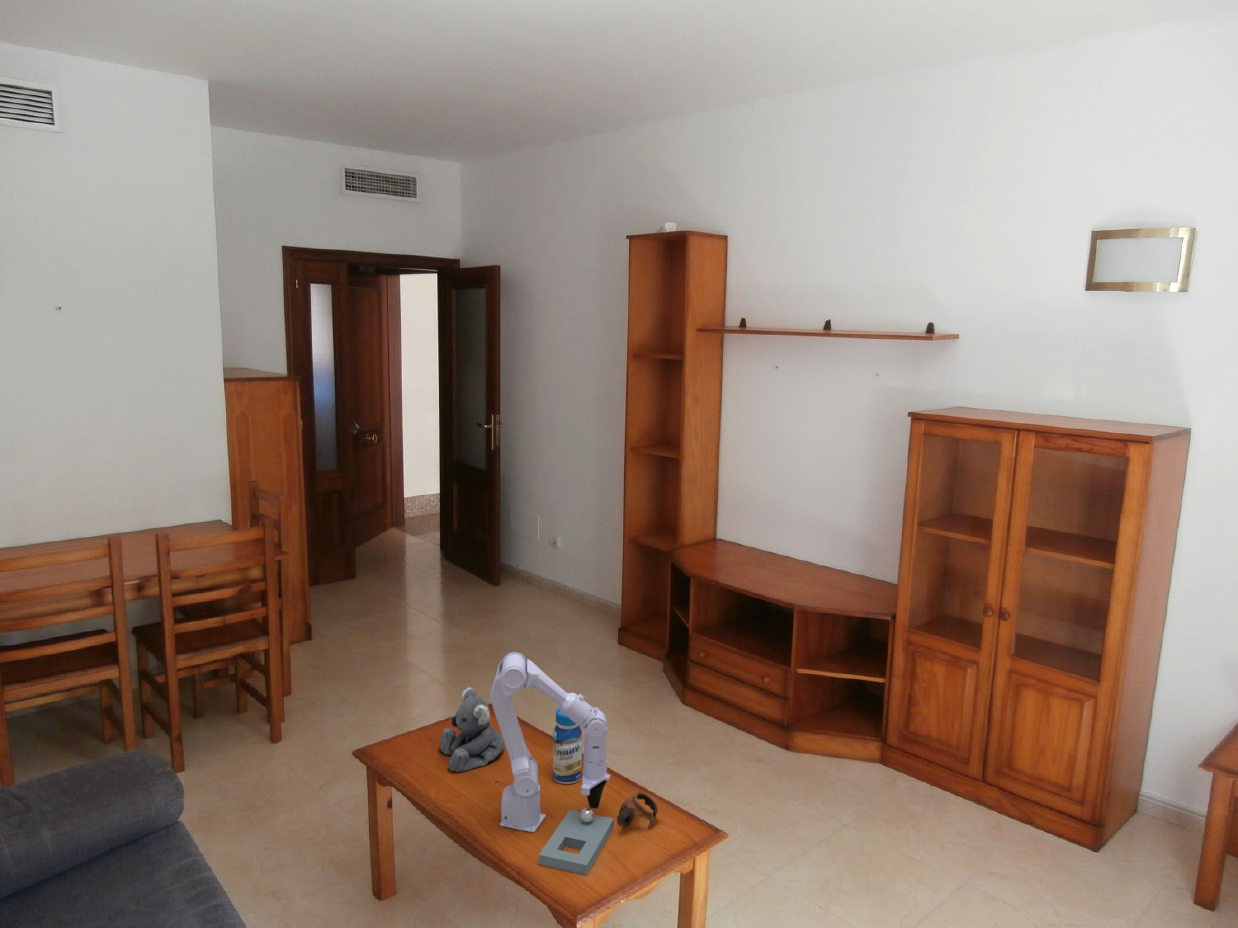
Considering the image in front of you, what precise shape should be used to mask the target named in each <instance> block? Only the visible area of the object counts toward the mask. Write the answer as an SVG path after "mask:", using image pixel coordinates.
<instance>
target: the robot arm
mask: <svg viewBox="0 0 1238 928" xmlns="http://www.w3.org/2000/svg"><path fill="white" fill-rule="evenodd" d="M491 686H492V687H491V689H490V692H489V693H490V695H489V700H490V703H491V705H492V706H491V707H492V708H493V712H494V715H495V717H496V721H497V724H498V727H499V730H500V733H501V736H502V739H503V740H504V745H505V749H506V750H507V751H506V752H507V754H508V757H509V760H510V764H511V765H510V766H511V773H512V776H513V784H508V785H507V786H505V787H504V789H503V791H502V795H501V803H500V804H501V805H500V807H501V808H500V809H501V811H500V812H501V821H500V824H499V826H500V827H501V826H502V827H505V828H510V829H513V830H514V829H515V830H519V831H525V832H529V833H535V832H536V831H537V829H538V828H539V827H540V825H541V824H542V823H543V822H544V820H545V819H546V818H547V817H546V816H547V815H546V814H545V813H541V786H540V784H539V775H538V774H539V764H538V762H537V760H536V759H535V758H533V757H532V755H531V751H530V750H529V749H528V747H527V744H526V741H525V737H524V735H523V732H522V728H521V725H520V723H519V719H518V717H517V713H516V711H515V708H514V707H515V706H514V704H513V702H512V697H513V695H514V694H516V693H517V692H518V691H519V690H520V689H524V690H530V689H534V688H535V689H537V690H538V691H540V692H541V693H542V694H544V695H545V696H547V697H548V698H550V699H551V700H552V701H554V702H556V703H557V704H558V705H559V708H560V711H561V712H562V713H563V714H564V715H565V716H567V717H568V718H569V719H571V720H572V721H573V722H574V723H576V724H577V725H578V726H580V727H581V729H584V730H583V731H584V740H583V772H582V782H581V787H580V793H581V795H583V796H586V798H587V803H588V806H589V808H590V809H596V810H597V809H598V808H599V807H600V802H601V800H602V799H601V798H602V794H603V792H604V788H605V785H607V783H608V781H609V780H610V779H611V774H610V773H609V774H608V773H607V769H608V760H607V738H606V737H607V734H608V733H609V732H608V731H609V729H608V724H607V717H606V715H605V713H604V711H603V710H602V709H601V708H598V707H596V706H594V707H593V706H592V705H591V704H589V703H588V702H587V701H585V700H584V696H583V695H582V694H581V693H579V694H577V693H576V692H567V691H565V690H564V689H563V688H562V687H561V686H560V685H558V684H557V683H556V682H555V681H554V680H553V679H552V678H550V677H549V676H548V675H547V674H546V673H545V672H544V671H543V670H541V669H540V668H539V667H538V666H537V664H535V663H534V662H533V661H532V660H531V659H528V658H526V657H525V656H524V655H523V654H522V653H520V652H517V651H516V652H515V651H513V652H510V653H507V654H505V656H504V657H503V658H502V660H501V661H500V663H499V664H498V666H497V669H496V673H495V677H494V680H493V683H492V685H491ZM523 687H524V688H523Z"/></svg>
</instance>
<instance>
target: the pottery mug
mask: <svg viewBox="0 0 1238 928" xmlns="http://www.w3.org/2000/svg"><path fill="white" fill-rule="evenodd" d="M639 800H643V801H644V804H645V805H647V806H648V807H649V808H650V810H648V809H646V808H645V807H644V806H643V805H641V803H640V801H639ZM658 812H659V807H658V805H657V803H656V802H655V801H654V799H652V798H651V796H649V795H647V794H646V793H643V792H636V793H634V795H632V796H629V797H627V798H626V799H625V800H624V801H623V802H622V804H621V807H620V808H619V810H618V815H617V816H616V821H617V824H618V826H620V827H621V826H622V827H623V828H627V829H628V828H630V825H631V823H632V822H633V820H634V819H635V817H636V814H637V815H638V816H640V817H642V818H645V819H646V820H649V824H648V826H647V828H648V829H652V828H653V826H654V825H655V823H656V820H657V814H658Z"/></svg>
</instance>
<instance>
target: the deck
mask: <svg viewBox="0 0 1238 928" xmlns="http://www.w3.org/2000/svg"><path fill="white" fill-rule="evenodd" d="M580 812H581V811H577V810H571V809H569V810H568V811H567V813H566V815H565V816H564V817H563V819H561V822H560V823H559V824H558V826H557V827H556V829H555V830H554V832H553V833H552V835H551V836H550V838H549V839H548V841H547V842H546V844H545V845H544V846H543V848H542V849H541V851H540V853H539V854H538V865H540V866H543V867H544V866H545V867H549V868H552V869H553V868H554V869H558V870H561V871H562V870H563V871H568V872H571V873H576V874H581V875H584V876H587V875H588V873H589V872H590V871H591V869H592V867H593V865H594V863H595V861H596V860H597V858H598V856H599V854H600V852H601V851H602V849H603V848H604V845H605V843H606V842H607V840H608V838H609V837H610V835H611V833H612V831H613V830H614V828H615V827H614V826H615V825H614V822H615V819H614V818H612V817H607V816H603V815H602V816H601V815H596V814H594V818H593V820H592V821H591V822H589V823H584V822H583V821H582V820H581V819H580ZM565 847H568V848H573V849H577V850H580V851H579V852H578V853H573V852H569V851H565V850H564V849H565Z"/></svg>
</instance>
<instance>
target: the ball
mask: <svg viewBox="0 0 1238 928" xmlns="http://www.w3.org/2000/svg"><path fill="white" fill-rule="evenodd" d="M579 812H580V819H581V820H582V821H583V822H584V823H589V822H591V821H592V820H593V818H594V815H595V814H594V811H593V810H592V808H590V807H584V808H583V809H581V810H580V811H579Z"/></svg>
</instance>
